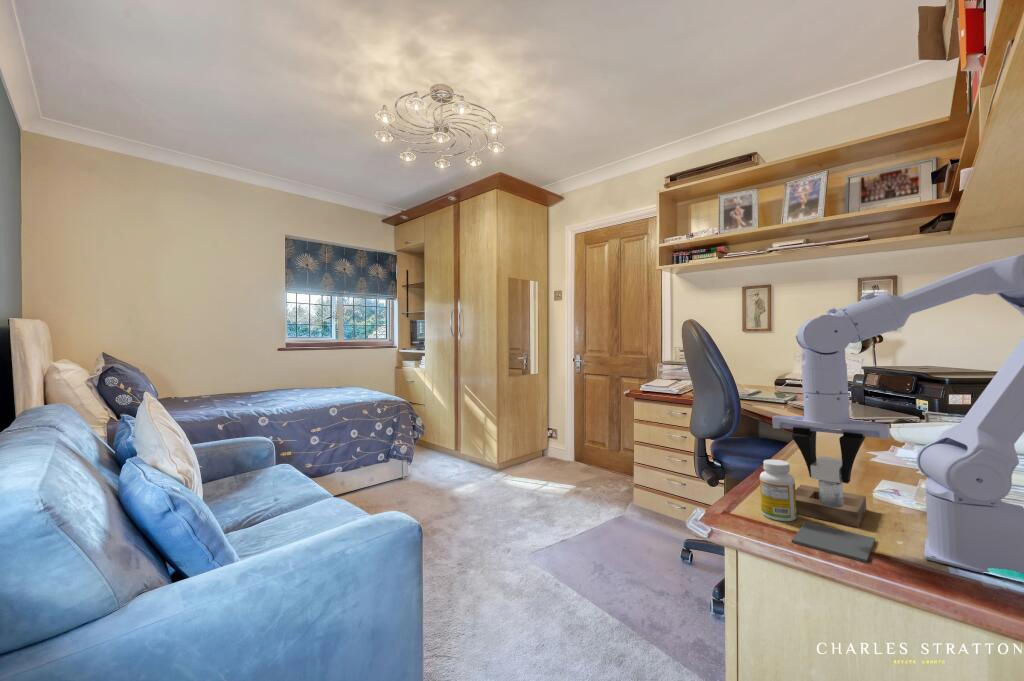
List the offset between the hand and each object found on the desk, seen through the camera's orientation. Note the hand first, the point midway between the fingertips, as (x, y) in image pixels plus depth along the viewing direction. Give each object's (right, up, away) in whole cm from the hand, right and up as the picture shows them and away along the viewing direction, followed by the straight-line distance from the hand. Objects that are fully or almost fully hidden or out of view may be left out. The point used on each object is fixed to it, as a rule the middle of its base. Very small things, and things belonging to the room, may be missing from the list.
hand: (829, 478), depth 64 cm
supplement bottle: (-2, -10, +10) cm, 14 cm away
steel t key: (0, -4, 0) cm, 4 cm away
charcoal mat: (0, -10, 0) cm, 10 cm away
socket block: (+8, -10, +11) cm, 17 cm away
